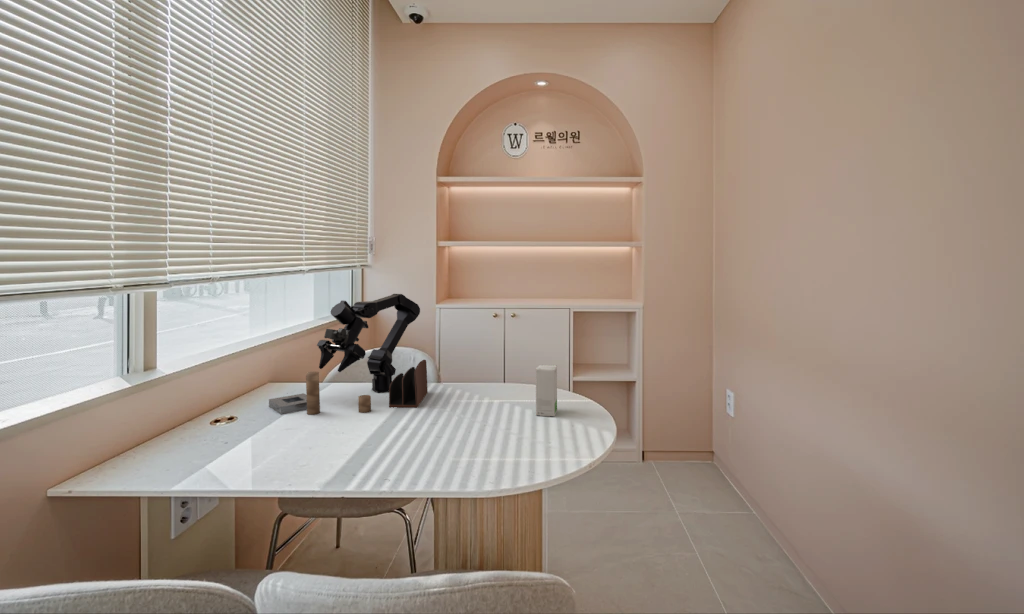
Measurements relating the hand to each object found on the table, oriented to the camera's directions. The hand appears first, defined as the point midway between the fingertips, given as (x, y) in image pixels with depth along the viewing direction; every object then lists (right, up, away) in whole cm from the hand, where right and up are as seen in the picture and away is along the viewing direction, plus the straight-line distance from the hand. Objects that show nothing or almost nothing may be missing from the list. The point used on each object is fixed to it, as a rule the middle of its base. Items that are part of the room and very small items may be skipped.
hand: (329, 370), depth 179 cm
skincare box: (+74, -14, -5) cm, 75 cm away
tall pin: (-3, -13, -6) cm, 15 cm away
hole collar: (-13, -13, 0) cm, 18 cm away
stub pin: (+13, -13, -4) cm, 19 cm away
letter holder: (+25, -12, +10) cm, 30 cm away
